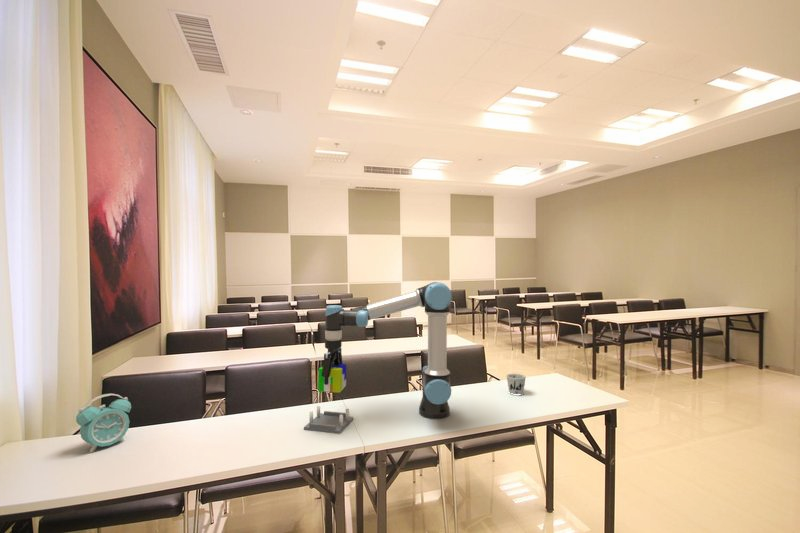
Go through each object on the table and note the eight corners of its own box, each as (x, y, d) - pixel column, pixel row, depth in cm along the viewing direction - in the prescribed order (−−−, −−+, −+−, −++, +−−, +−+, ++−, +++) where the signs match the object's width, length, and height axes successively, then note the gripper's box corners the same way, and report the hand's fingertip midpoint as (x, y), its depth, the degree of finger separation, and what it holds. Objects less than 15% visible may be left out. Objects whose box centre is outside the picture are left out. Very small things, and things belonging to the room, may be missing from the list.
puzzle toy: (346, 385, 169) (346, 364, 169) (339, 392, 159) (340, 369, 160) (325, 384, 170) (325, 363, 171) (318, 391, 161) (318, 368, 161)
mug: (507, 396, 202) (507, 378, 202) (504, 387, 217) (504, 371, 217) (527, 397, 200) (527, 379, 200) (522, 388, 215) (522, 371, 215)
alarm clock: (82, 457, 135) (82, 403, 136) (72, 450, 140) (73, 399, 141) (135, 439, 150) (135, 391, 150) (125, 433, 155) (125, 387, 155)
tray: (353, 419, 170) (353, 406, 170) (339, 433, 155) (339, 419, 155) (320, 415, 174) (320, 402, 174) (303, 429, 159) (303, 415, 159)
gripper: (336, 334, 177) (335, 379, 177) (313, 343, 155) (312, 394, 155) (350, 335, 176) (349, 381, 175) (329, 344, 153) (328, 396, 153)
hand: (332, 387), depth 165 cm, fingers closed on puzzle toy, 10 cm apart
